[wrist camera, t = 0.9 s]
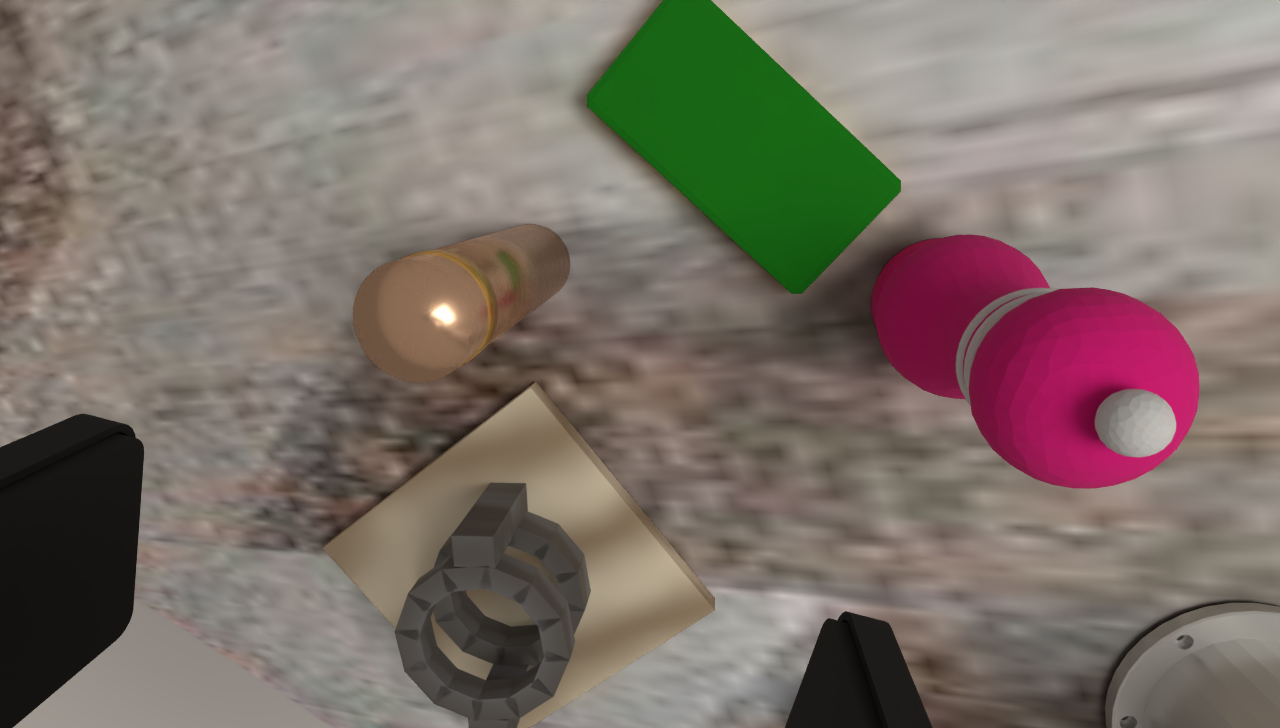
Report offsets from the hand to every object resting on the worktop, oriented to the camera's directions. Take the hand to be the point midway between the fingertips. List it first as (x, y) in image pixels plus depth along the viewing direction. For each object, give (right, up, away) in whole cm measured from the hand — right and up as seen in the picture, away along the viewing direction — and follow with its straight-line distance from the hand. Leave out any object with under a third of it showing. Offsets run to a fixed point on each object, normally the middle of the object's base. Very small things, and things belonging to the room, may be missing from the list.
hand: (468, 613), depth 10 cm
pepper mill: (+17, +7, +28) cm, 34 cm away
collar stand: (-5, -8, +34) cm, 35 cm away
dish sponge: (+7, +14, +28) cm, 32 cm away
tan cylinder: (-3, +9, +30) cm, 31 cm away
